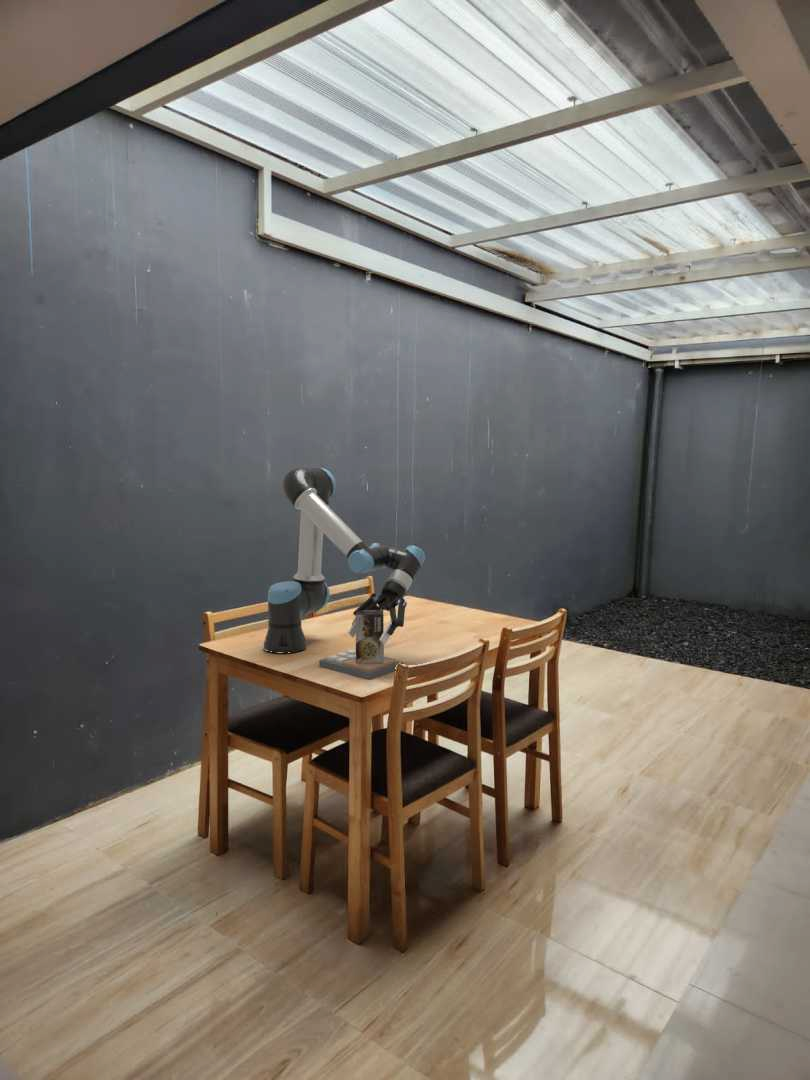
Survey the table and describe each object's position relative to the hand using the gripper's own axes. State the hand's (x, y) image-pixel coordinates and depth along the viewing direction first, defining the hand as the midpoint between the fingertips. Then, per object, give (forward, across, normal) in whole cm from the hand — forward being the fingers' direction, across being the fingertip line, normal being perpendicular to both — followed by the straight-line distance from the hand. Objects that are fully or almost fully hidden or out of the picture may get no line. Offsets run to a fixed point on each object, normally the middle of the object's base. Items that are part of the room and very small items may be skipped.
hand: (366, 638), depth 221 cm
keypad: (+6, +4, -9) cm, 11 cm away
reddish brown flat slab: (+5, 0, -8) cm, 10 cm away
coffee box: (+4, 0, -7) cm, 8 cm away
